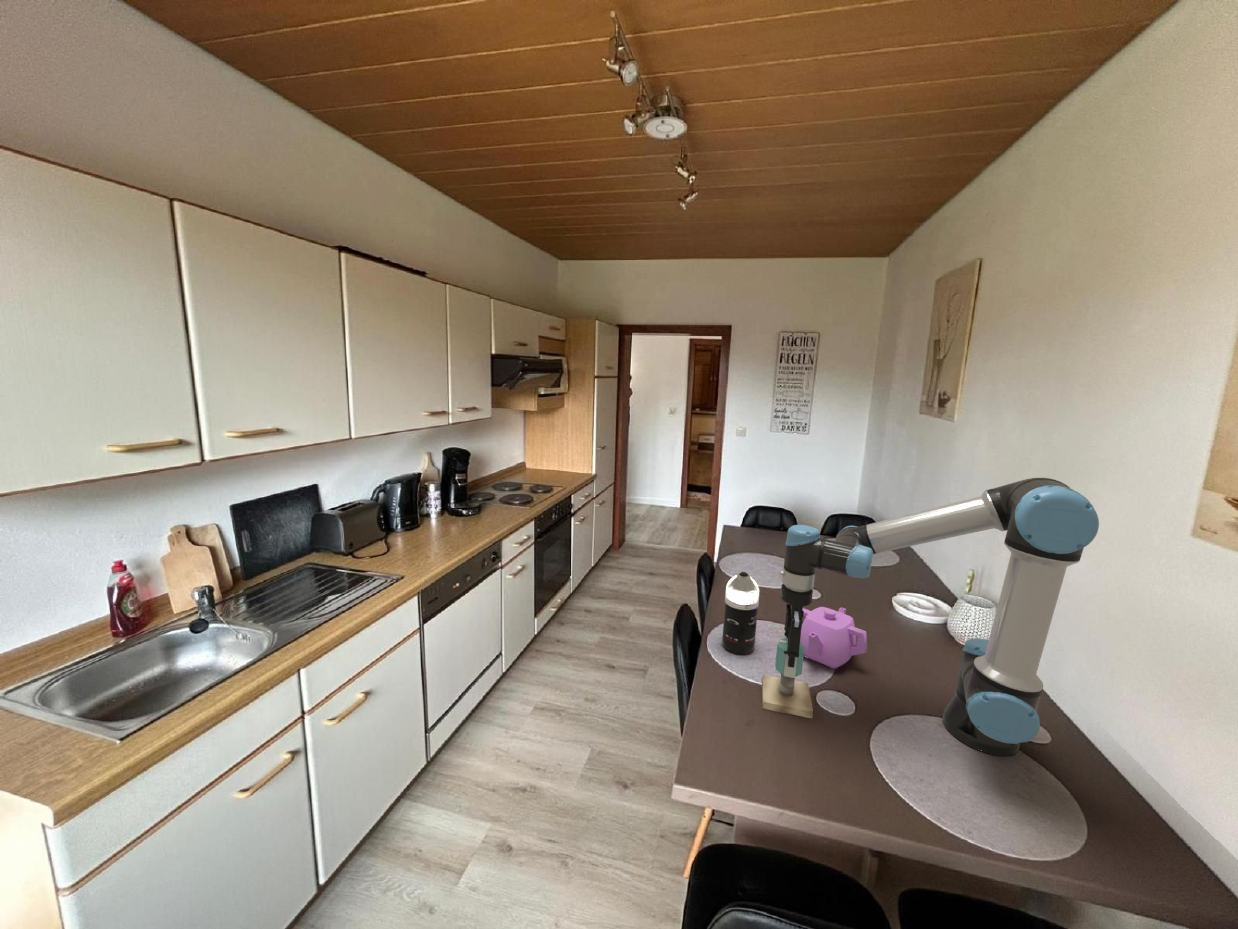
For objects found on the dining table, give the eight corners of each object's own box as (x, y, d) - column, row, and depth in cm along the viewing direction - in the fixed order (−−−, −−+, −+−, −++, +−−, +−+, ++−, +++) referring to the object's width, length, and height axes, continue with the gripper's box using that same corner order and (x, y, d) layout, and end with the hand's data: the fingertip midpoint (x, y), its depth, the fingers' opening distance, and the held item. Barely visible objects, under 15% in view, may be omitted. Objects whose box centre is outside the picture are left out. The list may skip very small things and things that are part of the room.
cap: (799, 664, 130) (803, 638, 128) (802, 678, 123) (805, 651, 122) (774, 660, 131) (777, 634, 130) (775, 673, 125) (778, 646, 124)
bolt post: (807, 689, 133) (810, 664, 132) (812, 718, 122) (815, 691, 120) (761, 681, 136) (764, 656, 135) (762, 708, 125) (765, 682, 123)
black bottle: (760, 647, 153) (767, 572, 149) (744, 660, 146) (751, 582, 141) (731, 634, 160) (737, 563, 156) (715, 646, 153) (720, 571, 148)
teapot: (840, 640, 159) (845, 597, 156) (871, 674, 141) (877, 626, 138) (782, 640, 158) (787, 597, 155) (806, 674, 140) (811, 626, 137)
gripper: (779, 569, 133) (771, 646, 137) (784, 600, 115) (774, 688, 119) (808, 573, 131) (800, 651, 136) (817, 605, 113) (807, 694, 117)
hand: (788, 668), depth 127 cm, fingers closed on cap, 6 cm apart
